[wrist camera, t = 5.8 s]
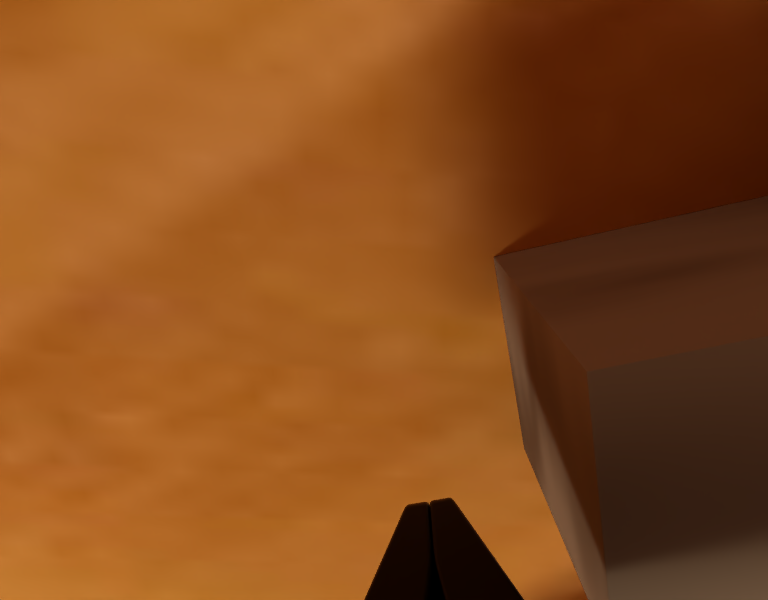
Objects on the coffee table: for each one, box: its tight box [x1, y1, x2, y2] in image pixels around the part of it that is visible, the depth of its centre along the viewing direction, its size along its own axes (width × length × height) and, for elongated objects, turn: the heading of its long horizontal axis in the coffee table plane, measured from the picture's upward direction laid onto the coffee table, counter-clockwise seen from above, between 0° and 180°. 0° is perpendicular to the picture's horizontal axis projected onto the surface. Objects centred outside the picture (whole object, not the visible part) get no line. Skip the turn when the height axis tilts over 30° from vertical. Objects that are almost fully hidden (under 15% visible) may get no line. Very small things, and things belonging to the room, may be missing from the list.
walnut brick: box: [494, 196, 768, 600], centre depth 10 cm, size 6×8×6 cm
